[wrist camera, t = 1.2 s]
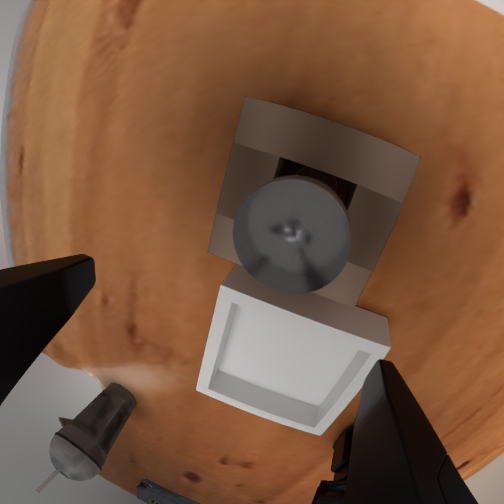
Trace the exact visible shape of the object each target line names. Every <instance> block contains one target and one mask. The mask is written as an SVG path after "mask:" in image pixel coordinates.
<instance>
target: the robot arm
mask: <svg viewBox="0 0 504 504" xmlns="http://www.w3.org/2000/svg"><path fill="white" fill-rule="evenodd" d="M95 281H96V276H95V263H94V260H93V258H92V257H90V256H87V255H85V254H79V255H74V256H68V257H63V258H58V259H52V260H47V261H42V262H37V263H31V264H26V265H21V266H16V267H11V268H6V269H1V270H0V405H1V403H2V402H3V401H4V400H5V398H6V397H7V396H8V394H9V393H10V392H11V390H12V389H13V388H14V386H15V385H16V383H17V382H18V381H19V379H20V378H21V377H22V376H23V375H24V373H25V372H26V371H27V369H28V368H29V367H30V366H31V364H32V363H33V362H34V361H35V359H36V358H37V357H38V355H39V354H40V353H41V352H42V351H43V350H44V348H45V347H46V346H47V345H48V344H49V342H50V341H51V340H52V339H53V338H54V336H55V335H56V334H57V333H58V332H59V331H60V329H61V328H62V327H63V326H64V325H65V324H66V322H67V321H68V320H69V319H70V318H71V316H72V315H73V314H74V312H75V311H76V309H77V308H78V307H79V305H80V304H81V303H82V301H83V300H84V298H85V297H86V296H87V294H88V293H89V292H90V290H91V289H92V288H93V286H94V284H95ZM333 449H334V453H333V459H332V465H331V471H332V472H334V473H335V474H334V479H333V481H327V480H322V481H321V483H320V485H319V487H318V488H317V491H316V494H315V496H314V499H313V501H312V504H478V502H477V501H476V499H475V498H474V496H473V495H472V493H471V492H470V490H469V489H468V487H467V485H466V484H465V482H464V481H463V479H462V478H461V476H460V474H459V472H458V471H457V469H456V467H455V466H454V464H453V462H452V460H451V458H450V457H449V455H447V451H446V450H445V448H444V446H443V444H442V443H441V441H440V439H439V437H438V436H437V434H436V432H435V431H434V429H433V427H432V425H431V424H430V422H429V420H428V419H427V417H426V415H425V414H424V412H423V410H422V409H421V407H420V405H419V404H418V402H417V401H416V399H415V397H414V396H413V394H412V392H411V391H410V389H409V388H408V386H407V384H406V383H405V381H404V380H403V378H402V376H401V375H400V373H399V372H398V370H397V369H396V367H395V365H394V364H393V363H392V362H391V361H387V360H383V359H379V360H377V361H376V363H375V364H374V366H373V367H372V369H371V370H370V372H369V374H368V375H367V377H366V378H365V380H364V383H363V388H362V393H361V398H360V403H359V408H358V413H357V417H356V422H355V423H354V424H353V425H352V426H351V427H350V428H349V429H348V430H347V431H345V432H344V433H343V434H342V435H341V436H340V437H339V438H338V439H337V440H336V441H335V443H334V444H333Z"/></svg>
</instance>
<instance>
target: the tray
mask: <svg viewBox="0 0 504 504" xmlns="http://www.w3.org/2000/svg"><path fill="white" fill-rule="evenodd" d="M390 349H391V343H390V334H389V326H388V318H387V317H384V316H381V315H378V314H376V313H373V312H370V311H368V310H365V309H362V308H359V307H357V306H355V307H354V308H353V307H350V306H347V305H345V304H342V303H339V302H336V301H334V300H331V299H328V298H326V297H323V296H320V295H318V294H315V293H312V292H309V293H302V294H291V293H284V292H279V291H276V290H273V289H271V288H269V287H266V286H265V285H263V284H261V283H260V282H258V281H257V280H256V279H254V278H253V277H252V276H251V275H250V274H249V273H248V272H247V270H246V269H245V268H244V266H241V265H239V264H236V265H235V267H234V268H233V269H232V271H231V272H230V273H229V275H228V276H227V277H226V279H225V280H224V281H223V282H222V284H221V286H220V290H219V294H218V298H217V302H216V306H215V311H214V315H213V319H212V323H211V327H210V331H209V336H208V340H207V344H206V348H205V353H204V357H203V361H202V366H201V370H200V374H199V379H198V383H197V388H196V390H197V391H199V392H201V393H204V394H206V395H208V396H210V397H213V398H215V399H217V400H220V401H222V402H225V403H227V404H229V405H232V406H234V407H237V408H239V409H242V410H245V411H247V412H250V413H252V414H255V415H258V416H261V417H263V418H266V419H269V420H272V421H275V422H278V423H280V424H283V425H286V426H290V427H293V428H296V429H299V430H302V431H305V432H309V433H312V434H315V435H319V436H321V435H322V433H323V432H324V431H325V430H326V429H327V428H328V427H329V426H330V425H331V424H332V422H333V421H334V420H335V419H336V418H337V417H338V416H339V414H340V413H341V412H342V411H343V410H344V409H345V407H346V406H347V405H348V404H349V403H350V401H351V400H352V399H353V398H354V396H355V395H356V394H357V393H358V392H359V390H360V389H361V388H362V386H363V383H364V380H365V378H366V377H367V375H368V374H369V372H370V370H371V369H372V367H373V366H374V364H375V363H376V361H377V360H379V359H384V357H385V356H386V354H387V353H388V352H389V350H390Z"/></svg>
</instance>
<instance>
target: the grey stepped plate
mask: <svg viewBox="0 0 504 504" xmlns="http://www.w3.org/2000/svg"><path fill="white" fill-rule="evenodd" d="M142 480H143V482H141V483H140V485H138V486H137V487H136V490H137V493H138V494H137V498H138V499H141V500H142V501H144V502H146V503H148V504H153V502H154V501H155V502H157V503H156V504H200V503H198V502H195V501H193V500H191V499H188V498H186V497H184V496H181V495H179V494H177V493H174V492H172V491H170V490H168V489H166V488H164V487H161V486H160V485H157V484H155V483H154V482H151V481H149V480H148V479H143V478H142Z"/></svg>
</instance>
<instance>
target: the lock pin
mask: <svg viewBox="0 0 504 504" xmlns="http://www.w3.org/2000/svg"><path fill="white" fill-rule="evenodd" d="M233 242H234V247H235V250H236V253H237V256H238V258H239V260H240V262H241V263H242V265H243V266H244V268H245V269H246V270H247V272H248V273H249V274H250V275H251V276H252V277H253V278H254V279H256V280H257V281H258V282H260V283H261V284H263V285H265V286H266V287H269V288H271V289H273V290H276V291H279V292H284V293H291V294H302V293H309V292H312V291H316V290H318V289H321V288H323V287H324V286H326V285H328V284H329V283H331V282H332V281H333V280H334V279H335V278H336V277H337V276H338V275H339V274H340V273H341V271H342V270H343V269H344V267H345V265H346V263H347V260H348V258H349V254H350V250H351V224H350V219H349V215H348V212H347V210H346V207H345V206H344V204H343V202H342V201H341V199H340V198H339V196H338V184H337V181H336V179H335V177H334V176H333V175H331V174H328V173H326V172H323V171H320V170H317V169H315V168H312V167H309V166H307V167H305V168H303V169H301V170H300V171H299V172H298V173H297V174H296V175H289V176H282V177H278V178H275V179H273V180H270V181H268V182H267V183H265V184H263V185H262V186H261V187H260V188H258V189H257V190H256V191H254V192H253V193H252V194H251V195H250V196H248V198H247V199H246V200H245V201H244V202H243V203H242V205H241V206H240V208H239V210H238V212H237V214H236V217H235V220H234V225H233Z"/></svg>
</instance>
